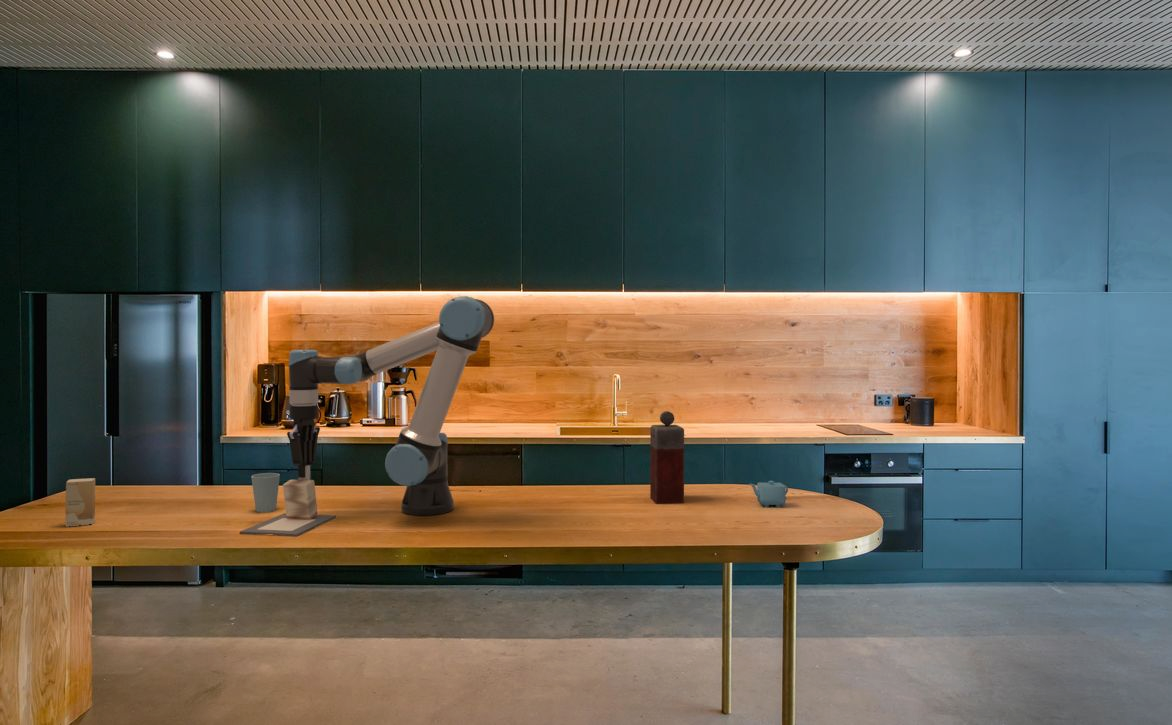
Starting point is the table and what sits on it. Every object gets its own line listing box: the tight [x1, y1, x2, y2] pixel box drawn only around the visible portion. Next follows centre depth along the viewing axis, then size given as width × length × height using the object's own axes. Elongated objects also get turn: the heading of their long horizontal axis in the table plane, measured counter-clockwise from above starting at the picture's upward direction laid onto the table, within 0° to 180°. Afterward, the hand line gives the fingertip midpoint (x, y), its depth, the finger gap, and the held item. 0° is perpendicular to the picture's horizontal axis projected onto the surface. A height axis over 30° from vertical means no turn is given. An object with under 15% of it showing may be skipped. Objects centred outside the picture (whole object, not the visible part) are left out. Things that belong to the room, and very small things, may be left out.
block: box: [282, 479, 319, 520], centre depth 199 cm, size 7×4×10 cm, turn 81°
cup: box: [251, 472, 281, 513], centre depth 211 cm, size 8×8×10 cm
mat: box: [239, 512, 337, 537], centre depth 194 cm, size 16×20×1 cm
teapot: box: [748, 480, 789, 508], centre depth 217 cm, size 12×6×8 cm, turn 88°
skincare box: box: [65, 477, 96, 528], centre depth 195 cm, size 6×4×12 cm
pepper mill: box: [649, 410, 685, 505], centre depth 225 cm, size 9×11×28 cm
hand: (304, 488), depth 201 cm, fingers closed
